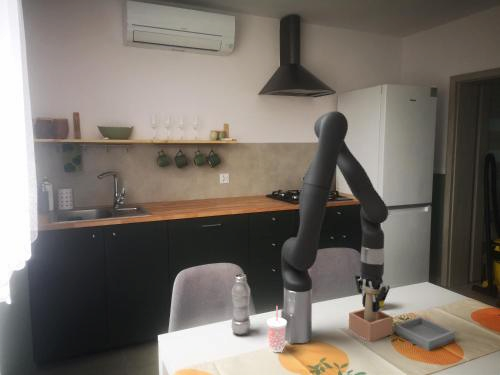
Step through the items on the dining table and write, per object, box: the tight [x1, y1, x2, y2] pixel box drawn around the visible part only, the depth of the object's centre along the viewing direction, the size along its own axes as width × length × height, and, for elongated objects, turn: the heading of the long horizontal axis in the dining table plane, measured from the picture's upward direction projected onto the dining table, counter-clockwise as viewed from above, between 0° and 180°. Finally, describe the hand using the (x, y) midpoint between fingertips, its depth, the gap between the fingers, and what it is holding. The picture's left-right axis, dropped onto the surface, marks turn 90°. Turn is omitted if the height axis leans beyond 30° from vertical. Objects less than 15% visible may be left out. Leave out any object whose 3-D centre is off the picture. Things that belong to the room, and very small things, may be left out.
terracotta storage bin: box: [348, 308, 394, 343], centre depth 126 cm, size 11×10×6 cm
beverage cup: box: [266, 305, 287, 352], centre depth 115 cm, size 6×6×14 cm
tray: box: [393, 316, 456, 352], centre depth 123 cm, size 13×13×3 cm
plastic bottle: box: [231, 273, 252, 335], centre depth 125 cm, size 6×7×20 cm
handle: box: [363, 286, 380, 323], centre depth 125 cm, size 5×6×15 cm
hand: (370, 308), depth 125 cm, fingers closed on handle, 3 cm apart
